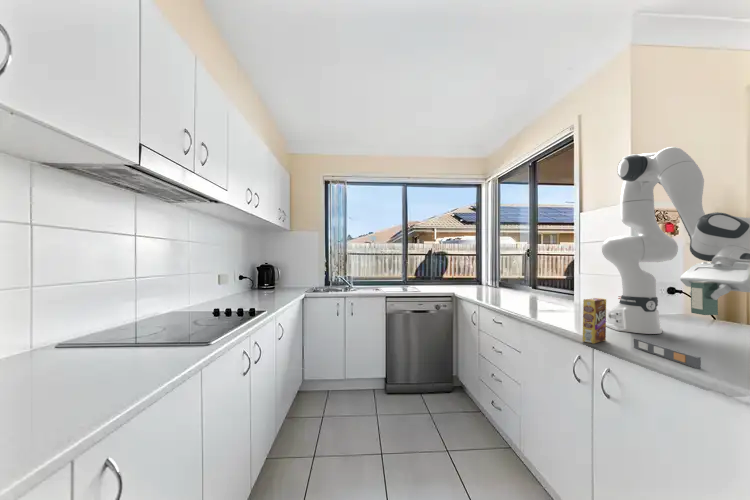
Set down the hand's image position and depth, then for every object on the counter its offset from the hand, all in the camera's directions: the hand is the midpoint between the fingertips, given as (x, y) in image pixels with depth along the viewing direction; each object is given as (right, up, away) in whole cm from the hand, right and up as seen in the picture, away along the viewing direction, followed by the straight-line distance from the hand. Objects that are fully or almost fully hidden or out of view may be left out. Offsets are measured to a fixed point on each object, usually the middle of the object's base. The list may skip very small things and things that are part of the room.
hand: (702, 297), depth 102 cm
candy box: (-15, -20, +25) cm, 35 cm away
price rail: (-7, -19, +5) cm, 21 cm away
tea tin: (+1, -5, 0) cm, 5 cm away
